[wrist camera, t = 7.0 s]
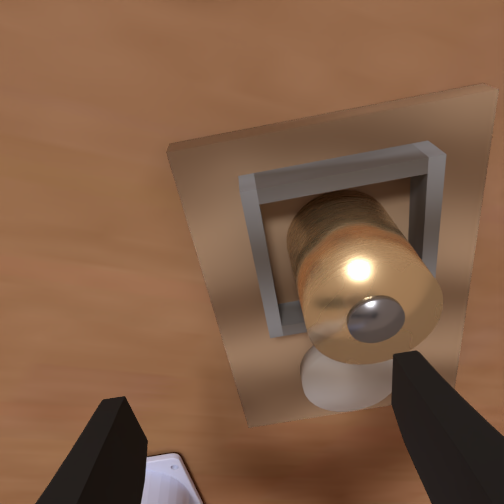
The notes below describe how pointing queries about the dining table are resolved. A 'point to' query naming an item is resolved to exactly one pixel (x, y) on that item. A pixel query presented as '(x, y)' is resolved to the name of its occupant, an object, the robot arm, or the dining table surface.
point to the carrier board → (300, 193)
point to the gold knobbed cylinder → (359, 280)
